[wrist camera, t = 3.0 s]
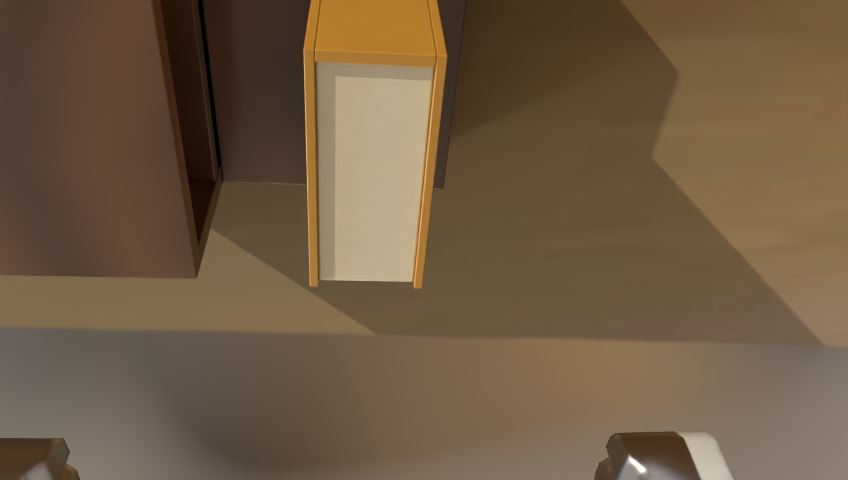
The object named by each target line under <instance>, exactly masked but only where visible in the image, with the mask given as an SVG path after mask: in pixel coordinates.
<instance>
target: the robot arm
mask: <svg viewBox="0 0 848 480" xmlns="http://www.w3.org/2000/svg"><path fill="white" fill-rule="evenodd" d="M606 448H607V451H608V455H609V457H608V458H606V459H605V460H603V461H601V462H600V463H599V465H598V468H597V470H596V473H595V478H594V480H734V478H733V476H732V474H731V472H730V470H729V468H728V465H727V463H726V461H725V459H724V457H723V454H722V452H721V450H720V448H719V446H718V444H717V441H716V439H715V438H714V437H713V436H712V435H711V434H710V433H707V432H677V433H675V432H639V433H638V432H636V433H615V434H613V435H612V436H610V439H609V441H608V443H607V446H606ZM69 453H70V451H69V449H68V447H67V444H66V442H65V440H64V438H0V480H80V478H79V475H78V472H77V470H76V469H75V468H73V467H72V466H70V465H68V464H67V463H66V461H67V459H68V456H69Z"/></svg>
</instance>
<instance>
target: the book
mask: <svg viewBox="0 0 848 480" xmlns="http://www.w3.org/2000/svg"><path fill="white" fill-rule="evenodd" d="M303 52H304V89H305V126H306V163H307V200H308V237H309V274H310V286H318V283H319V279H320V280H349V281H401V282H412V281H413V280H414V288H422V285H423V276H424V267H425V258H426V249H427V240H428V231H429V222H430V213H431V203H432V194H433V185H434V176H435V167H436V158H437V149H438V140H439V131H440V121H441V112H442V103H443V94H444V85H445V76H446V67H447V58H448V56H447V51H446V45H445V40H444V35H443V29H442V24H441V19H440V13H439V8H438V3H437V0H311V4H310V11H309V17H308V23H307V30H306V36H305V43H304V49H303Z"/></svg>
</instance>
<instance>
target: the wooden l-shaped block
mask: <svg viewBox="0 0 848 480" xmlns="http://www.w3.org/2000/svg"><path fill="white" fill-rule="evenodd" d="M437 3H438V8H439V13H440V19H441V24H442V29H443V35H444V40H445V45H446V51H447V56H448V58H447V67H446V76H445V85H444V94H443V103H442V112H441V121H440V131H439V140H438V149H437V158H436V167H435V176H434V185H433V189H443V188H444V180H445V171H446V163H447V155H448V147H449V138H450V130H451V122H452V114H453V105H454V97H455V89H456V80H457V72H458V64H459V56H460V47H461V39H462V31H463V23H464V14H465V6H466V0H437ZM310 4H311V0H202V6H203V15H204V23H205V32H206V40H207V49H208V58H209V66H210V75H211V83H212V92H213V100H214V109H215V117H216V123H212V115H211V107H210V99H209V91H208V82H207V74H206V66H205V58H204V49H203V41H202V33H201V25H200V16H199V8H198V0H0V275H27V276H80V277H132V278H185V279H196V278H197V276H198V272H199V269H200V265H201V261H202V257H203V253H204V250H205V246H206V242H207V238H208V235H209V231H210V227H211V223H212V220H213V216H214V212H215V208H216V205H217V201H218V197H219V193H220V190H221V186H222V182H236V183H267V184H299V185H307V163H306V126H305V89H304V52H303V49H304V43H305V36H306V30H307V23H308V17H309V11H310Z"/></svg>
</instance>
